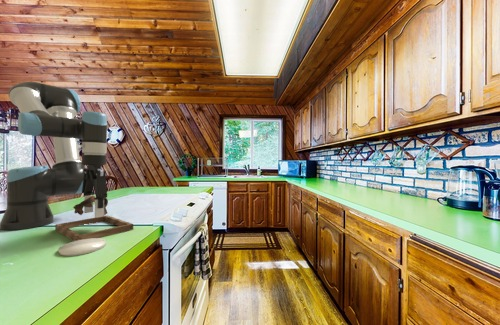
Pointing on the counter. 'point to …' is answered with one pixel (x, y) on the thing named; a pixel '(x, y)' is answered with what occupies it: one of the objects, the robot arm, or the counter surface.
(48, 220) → the robot arm
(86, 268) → the counter surface
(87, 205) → the brown hollow round piece
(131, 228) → the walnut frame
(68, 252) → the white dome
